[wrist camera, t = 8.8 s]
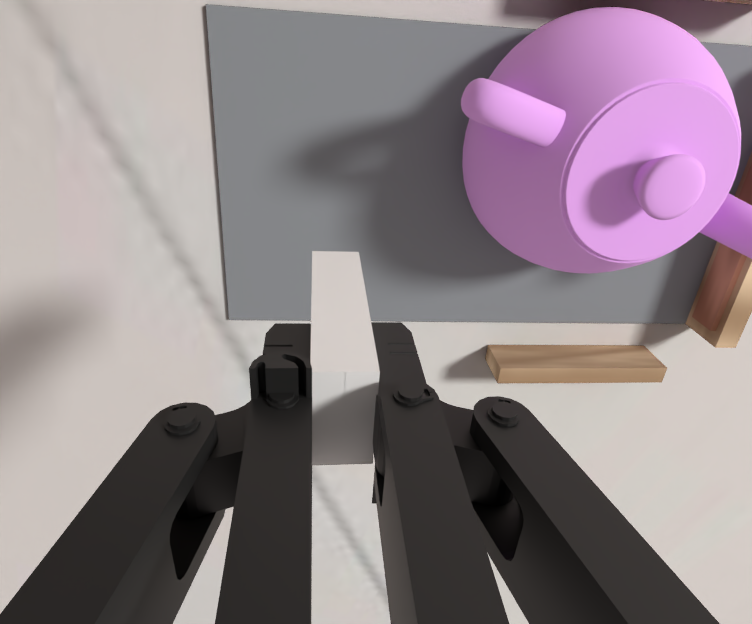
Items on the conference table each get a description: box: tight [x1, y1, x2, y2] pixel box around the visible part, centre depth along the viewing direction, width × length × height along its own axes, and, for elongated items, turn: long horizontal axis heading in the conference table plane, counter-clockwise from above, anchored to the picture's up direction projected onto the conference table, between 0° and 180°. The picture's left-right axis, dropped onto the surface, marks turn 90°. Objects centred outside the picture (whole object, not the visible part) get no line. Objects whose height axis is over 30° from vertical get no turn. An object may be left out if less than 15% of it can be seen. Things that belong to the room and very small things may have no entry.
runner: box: [206, 4, 752, 324], centre depth 33 cm, size 18×34×1 cm, turn 87°
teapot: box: [461, 7, 752, 274], centre depth 27 cm, size 14×20×11 cm
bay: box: [485, 0, 752, 383], centre depth 32 cm, size 24×16×4 cm, turn 177°
